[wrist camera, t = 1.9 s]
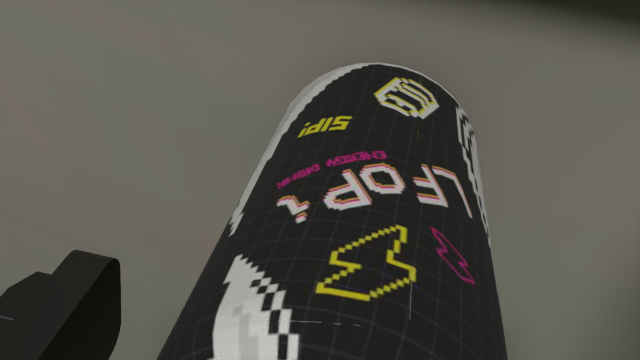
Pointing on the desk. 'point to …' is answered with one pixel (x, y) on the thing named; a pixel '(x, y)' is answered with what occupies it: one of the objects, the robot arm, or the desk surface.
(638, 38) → the desk surface
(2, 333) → the robot arm
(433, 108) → the beverage can
